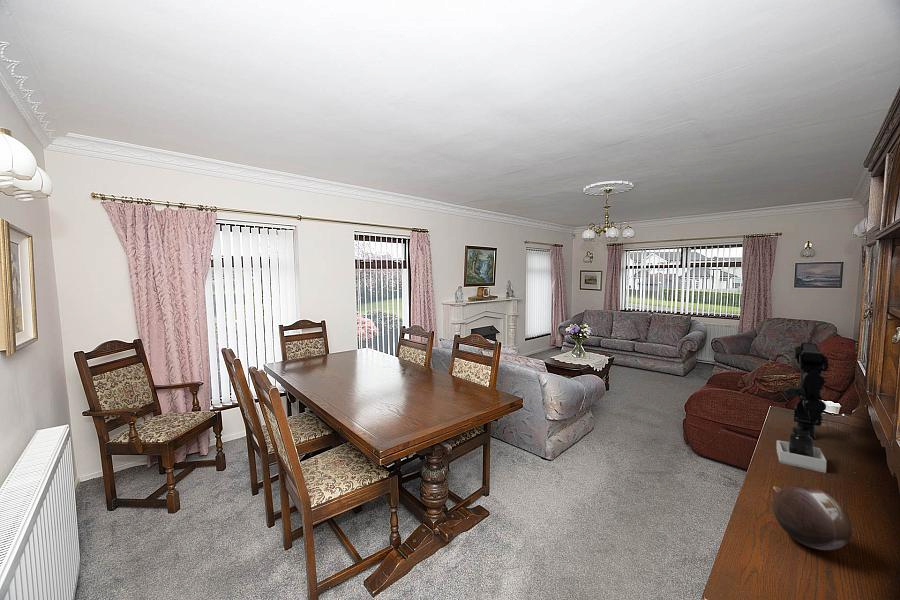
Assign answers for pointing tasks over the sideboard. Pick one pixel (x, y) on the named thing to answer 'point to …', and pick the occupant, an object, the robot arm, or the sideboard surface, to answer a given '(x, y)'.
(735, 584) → the sideboard surface
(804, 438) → the supplement bottle
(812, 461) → the tray
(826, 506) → the dark glossy egg
